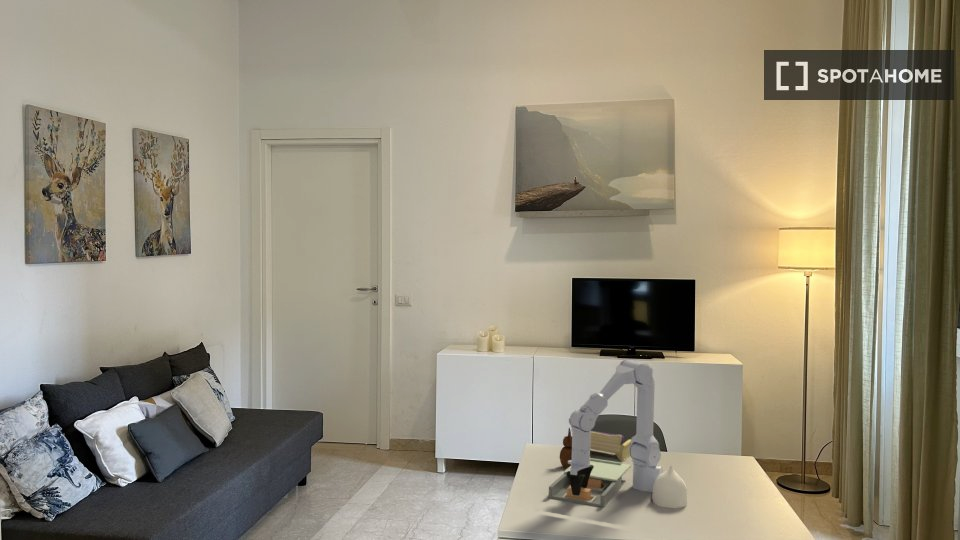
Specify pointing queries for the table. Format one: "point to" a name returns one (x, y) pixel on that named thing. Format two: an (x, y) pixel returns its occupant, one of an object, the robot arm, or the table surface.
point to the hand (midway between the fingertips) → (579, 491)
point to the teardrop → (670, 490)
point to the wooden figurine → (566, 450)
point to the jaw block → (584, 494)
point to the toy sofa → (610, 444)
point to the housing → (599, 490)
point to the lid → (606, 469)
